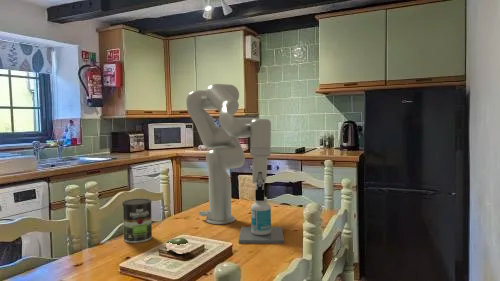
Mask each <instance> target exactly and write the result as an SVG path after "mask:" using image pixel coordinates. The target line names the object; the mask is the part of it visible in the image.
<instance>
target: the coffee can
mask: <svg viewBox="0 0 500 281" xmlns="http://www.w3.org/2000/svg"><path fill="white" fill-rule="evenodd" d="M122 215H123V216H122V218H123V219H122V221H123V222H122V223H123V241H124V242H126V243H128V244H129V243H130V244H141V243H145V242H148V241H150V240H151V239H152V238H153V236H152V234H153V233H152V232H153V230H152V229H153V228H152V222H153V221H152V200H151V199H149V198H133V199H132V198H131V199H126V200H124V201H122Z"/></svg>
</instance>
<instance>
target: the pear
mask: <svg viewBox="0 0 500 281" xmlns="http://www.w3.org/2000/svg"><path fill="white" fill-rule="evenodd" d="M169 242H170V243H172V244H177V245H180V244H186V243H188V242H189V241H188V240H187V239H186V238H184V237H176V238H170V239H169V240H167V241H166V242H165V243H169Z"/></svg>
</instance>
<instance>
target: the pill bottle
mask: <svg viewBox="0 0 500 281" xmlns="http://www.w3.org/2000/svg"><path fill="white" fill-rule="evenodd" d="M250 215H251V216H250V218H251V219H250V221H251V223H250V224H251V226H250V227H251V230H252V233H253V234H255V235H268V234H270V233H271V227H272V206H271V204H270V203H268V197H267V196H264V201H256V200H255V199H254V203H252V204H251V206H250Z"/></svg>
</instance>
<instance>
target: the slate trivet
mask: <svg viewBox="0 0 500 281" xmlns="http://www.w3.org/2000/svg"><path fill="white" fill-rule="evenodd" d="M284 243H285V239H284V233H283V227H282V226H271V233H270V234H268V235H255V234H253V233H252V230H251V226H241V228H240V232H239V238H238V244H244V245H245V244H246V245H247V244H251V245H252V244H254V245H255V244H256V245H257V244H259V245H261V244H265V245H266V244H269V245H271V244H272V245H273V244H278V245H279V244H280V245H282V244H284Z"/></svg>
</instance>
